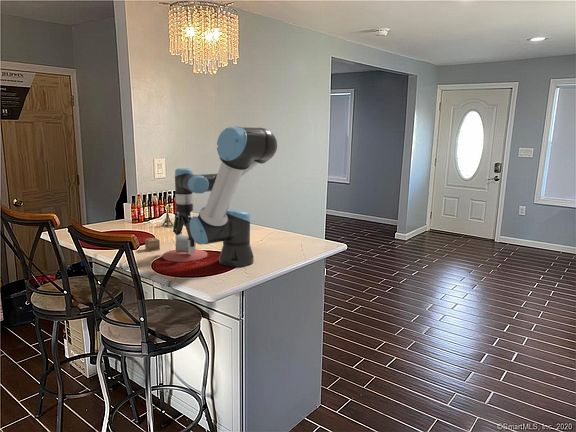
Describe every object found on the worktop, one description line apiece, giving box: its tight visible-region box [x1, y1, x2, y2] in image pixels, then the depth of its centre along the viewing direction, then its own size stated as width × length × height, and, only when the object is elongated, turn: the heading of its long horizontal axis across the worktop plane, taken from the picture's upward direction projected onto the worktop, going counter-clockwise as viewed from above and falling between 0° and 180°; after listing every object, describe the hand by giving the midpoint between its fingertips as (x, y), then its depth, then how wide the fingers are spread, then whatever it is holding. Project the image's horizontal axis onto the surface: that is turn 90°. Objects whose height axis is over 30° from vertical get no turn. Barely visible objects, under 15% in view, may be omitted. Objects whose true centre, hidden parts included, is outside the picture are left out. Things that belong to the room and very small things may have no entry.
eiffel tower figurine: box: [161, 205, 174, 229], centre depth 261 cm, size 15×10×13 cm
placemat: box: [162, 248, 208, 263], centre depth 200 cm, size 20×20×1 cm
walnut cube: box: [144, 237, 161, 252], centre depth 209 cm, size 5×5×5 cm
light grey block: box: [175, 234, 197, 252], centre depth 200 cm, size 11×8×8 cm
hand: (185, 250), depth 200 cm, fingers closed on light grey block, 10 cm apart
